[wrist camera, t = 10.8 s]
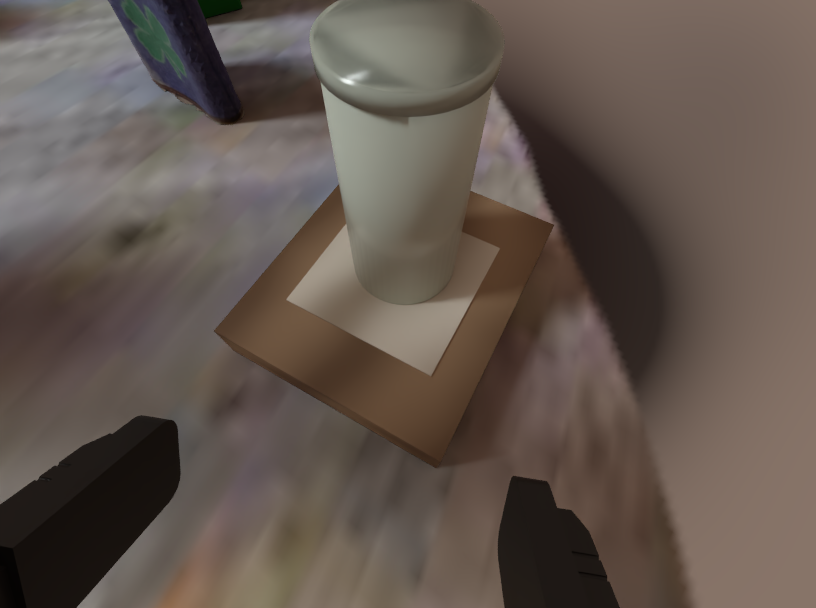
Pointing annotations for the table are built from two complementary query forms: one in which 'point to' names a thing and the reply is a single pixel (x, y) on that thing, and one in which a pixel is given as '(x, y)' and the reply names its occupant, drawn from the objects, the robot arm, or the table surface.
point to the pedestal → (388, 324)
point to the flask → (181, 54)
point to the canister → (405, 131)
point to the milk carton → (218, 6)
